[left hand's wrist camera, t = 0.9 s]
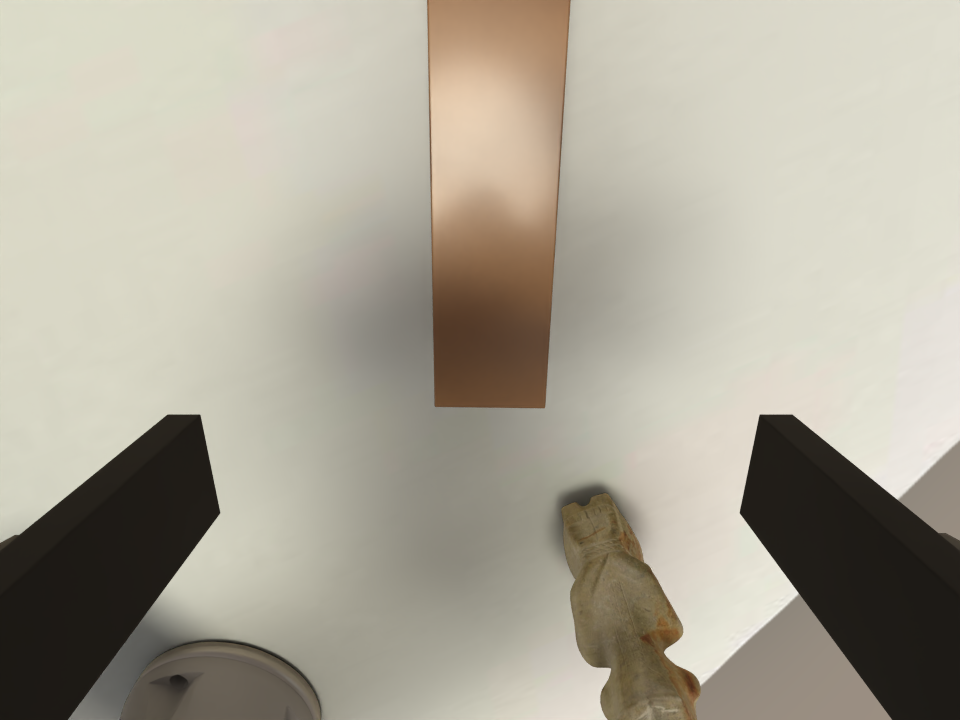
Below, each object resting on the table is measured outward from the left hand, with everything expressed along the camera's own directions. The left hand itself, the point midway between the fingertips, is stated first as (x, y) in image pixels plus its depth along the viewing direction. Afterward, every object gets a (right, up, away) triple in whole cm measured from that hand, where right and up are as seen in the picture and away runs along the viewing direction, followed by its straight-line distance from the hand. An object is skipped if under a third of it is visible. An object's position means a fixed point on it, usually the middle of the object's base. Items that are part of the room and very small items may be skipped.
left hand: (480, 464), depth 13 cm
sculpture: (+8, -9, +25) cm, 28 cm away
